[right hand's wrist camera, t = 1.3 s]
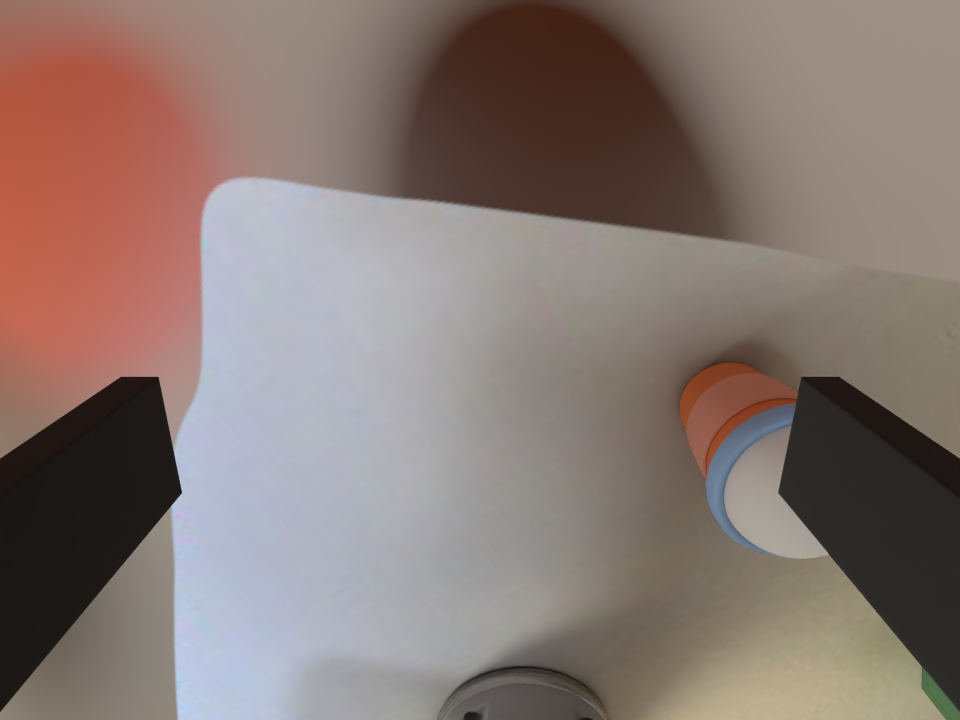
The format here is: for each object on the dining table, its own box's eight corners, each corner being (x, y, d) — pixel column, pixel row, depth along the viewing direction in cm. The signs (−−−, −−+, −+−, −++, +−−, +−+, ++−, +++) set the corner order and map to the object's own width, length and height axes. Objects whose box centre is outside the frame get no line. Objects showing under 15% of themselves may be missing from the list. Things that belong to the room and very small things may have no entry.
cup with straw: (788, 328, 40) (1012, 475, 23) (791, 447, 43) (989, 652, 26) (650, 354, 40) (770, 515, 24) (663, 469, 44) (777, 683, 27)
